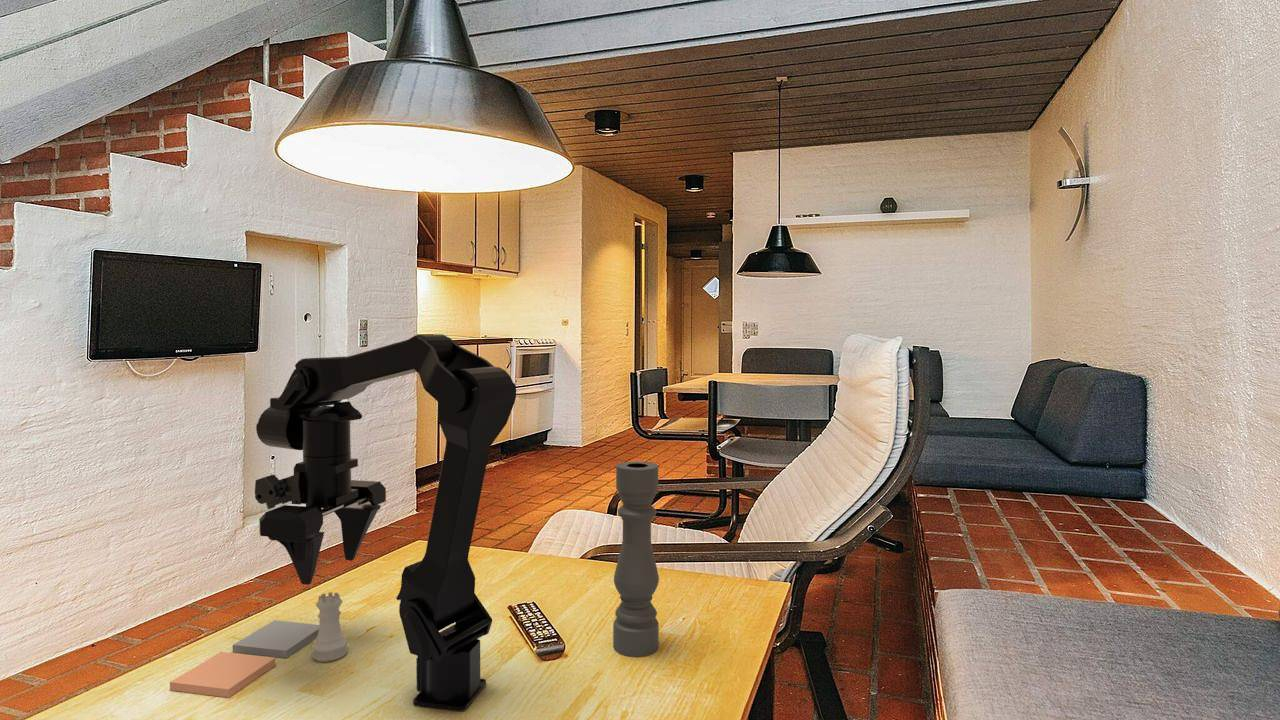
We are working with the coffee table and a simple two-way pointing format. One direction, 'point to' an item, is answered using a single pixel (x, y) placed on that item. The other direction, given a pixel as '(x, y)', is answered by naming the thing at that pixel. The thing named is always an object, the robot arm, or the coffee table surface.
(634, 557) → the candle holder
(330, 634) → the rook chess piece
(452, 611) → the robot arm
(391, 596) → the coffee table surface
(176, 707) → the coffee table surface
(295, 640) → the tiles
